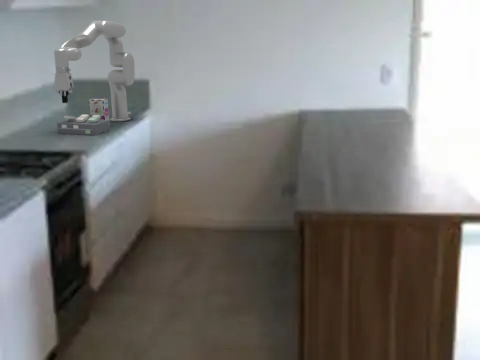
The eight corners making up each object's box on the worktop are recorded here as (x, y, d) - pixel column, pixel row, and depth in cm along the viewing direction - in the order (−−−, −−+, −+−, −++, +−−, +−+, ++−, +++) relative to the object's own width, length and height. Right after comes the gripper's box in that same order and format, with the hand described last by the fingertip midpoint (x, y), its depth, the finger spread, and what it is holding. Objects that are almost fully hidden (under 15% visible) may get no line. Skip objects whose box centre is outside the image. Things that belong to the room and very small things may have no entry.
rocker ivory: (82, 116, 410) (82, 114, 409) (89, 117, 408) (88, 114, 408) (76, 121, 405) (75, 119, 404) (82, 122, 403) (82, 119, 402)
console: (72, 128, 419) (71, 117, 418) (109, 130, 410) (108, 119, 408) (57, 133, 407) (56, 121, 405) (95, 135, 397) (94, 123, 395)
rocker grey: (71, 119, 413) (71, 116, 413) (77, 119, 412) (77, 116, 412) (64, 118, 407) (64, 115, 407) (70, 118, 405) (70, 115, 405)
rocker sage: (94, 117, 407) (93, 114, 406) (100, 117, 405) (100, 114, 405) (88, 122, 402) (87, 119, 401) (94, 122, 400) (93, 120, 399)
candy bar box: (110, 125, 425) (108, 98, 421) (105, 127, 421) (103, 100, 417) (95, 124, 430) (93, 98, 426) (90, 126, 426) (88, 99, 422)
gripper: (77, 70, 399) (79, 102, 404) (55, 69, 405) (58, 101, 409) (69, 71, 393) (72, 104, 397) (47, 71, 398) (50, 103, 403)
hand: (65, 102), depth 403 cm, fingers closed
